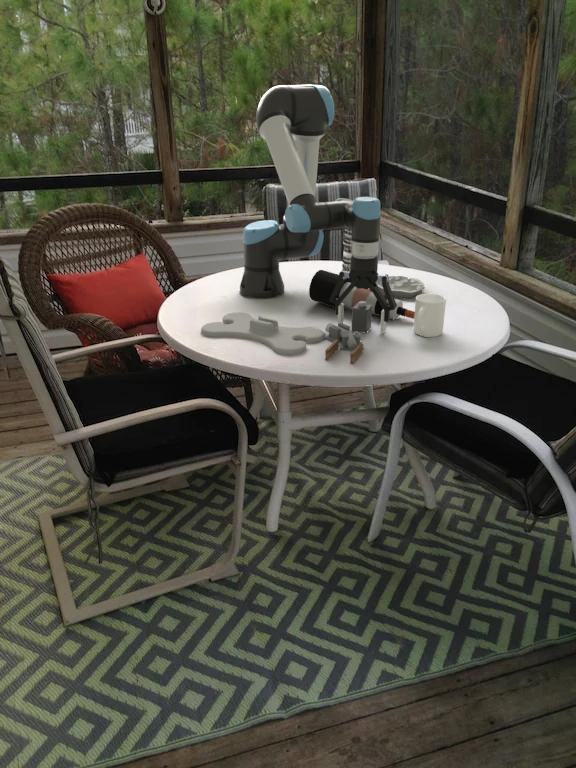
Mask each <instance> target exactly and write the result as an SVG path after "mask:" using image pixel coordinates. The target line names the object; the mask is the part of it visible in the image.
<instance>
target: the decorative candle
mask: <svg viewBox="0 0 576 768" xmlns="http://www.w3.org/2000/svg"><path fill="white" fill-rule="evenodd" d="M341 229H342V230H341V231H342V232H343V234H342V244H343V255H342V257H341V258H342V264H341V267H342V268H341V271H342V270H345V271H346V272H350V270H351V256H352V254H351V240H352V230H351V229H348V228H341ZM348 278H349V276H348Z"/></svg>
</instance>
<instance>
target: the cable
mask: <svg viewBox="0 0 576 768" xmlns="http://www.w3.org/2000/svg"><path fill="white" fill-rule="evenodd" d="M338 280H339V273H338V274H337V273H334V272H331V271H328V270H323V269H319V270H318V271H316V272H315V273H314V275H313V276H312V279H311V280H310V283H309V288H308V290H309V291H308V292H309V293H308V295H309V299H311V300H312V301H314V302H317V303H320V304H322V305H326V306H329V307H332V308H335V304H334V303H332V302H329V299H330V297H331V295H332V293H333V290H334V288H335V286H336V284H337V282H338ZM351 283H352V281H351V279H350V278H349V277H347V278H346V279H345V280H344V283H343V285H342V287H341V289H340V291H339V293H338V295H337V297H336V298H337V299H338V298H339V297H340V296H341V295H342V293H343V292H344V291H345V290H346V289H347V288H348V286H349V285H350V284H351ZM383 296H384V297H385V299H386V300H387V298H386V296H385V295H383ZM394 299H395V301H396V304H397V307H396V308H395V309H394V310H390V318H389V320H390V319H391V320H393V321H396V320H398V319H399V318H400V316H401V317H406V318H408V319H412V320H414V316H415V310H409V309H407V308H405V307H404V302H403V301H402V300H401V299H400V300H399V299H398V298H394ZM360 301H365V302H367V305H372V315H374V316H380V317H381V311H382V310H383V308H382V306H381V305H380V303H379V302H378V300H377V298H376V297H375V295H374V294H373V292H371V291H370V289H363V288H360V289H358V288H357V287H354V288H353V289H352V290H351V291H350V293H349V294H348V295H347V296H346V297H345V298H344V300H343V301H342V302H341V303H344V308H351V309H352V308H353V307H354V306H355V305H356V304H357V303H358V302H360ZM387 302H388V300H387ZM398 317H399V318H398ZM397 318H398V319H397ZM395 319H396V320H395Z"/></svg>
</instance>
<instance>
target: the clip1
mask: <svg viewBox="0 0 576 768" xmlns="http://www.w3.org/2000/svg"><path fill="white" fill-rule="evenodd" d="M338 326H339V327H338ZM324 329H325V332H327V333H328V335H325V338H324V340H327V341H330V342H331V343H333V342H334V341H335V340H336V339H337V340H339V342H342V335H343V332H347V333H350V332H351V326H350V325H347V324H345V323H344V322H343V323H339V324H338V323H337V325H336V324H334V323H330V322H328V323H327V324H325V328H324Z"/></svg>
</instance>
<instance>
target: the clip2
mask: <svg viewBox="0 0 576 768" xmlns="http://www.w3.org/2000/svg"><path fill="white" fill-rule="evenodd" d="M360 343H363V341H361V332H355V331H354V332H353V331H350V333H347V332H343V335H342V342H339V348H338V350H339V351H353V350H354V349H355V348H356V347H357V346H358V345H359V344H360ZM363 351H364V347H363Z"/></svg>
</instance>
